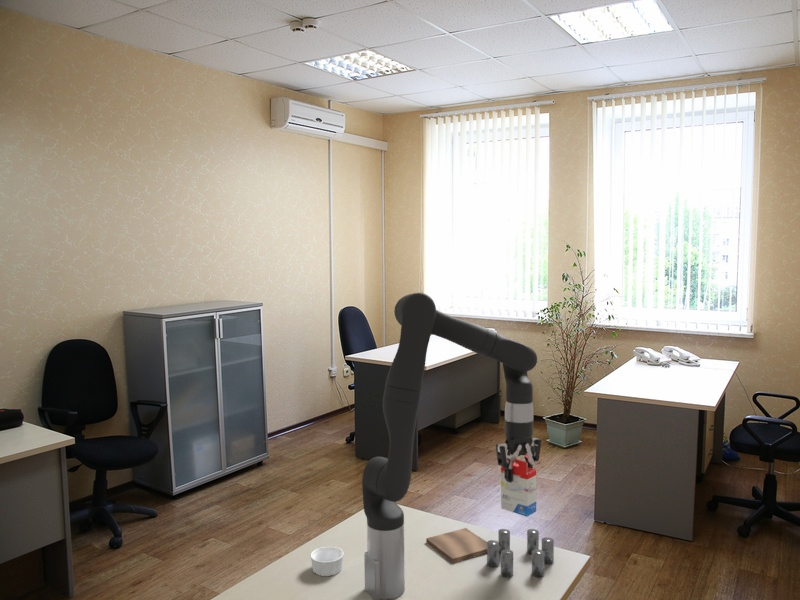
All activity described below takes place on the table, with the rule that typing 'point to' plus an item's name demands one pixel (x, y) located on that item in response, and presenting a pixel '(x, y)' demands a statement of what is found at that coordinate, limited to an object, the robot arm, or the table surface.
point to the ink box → (519, 490)
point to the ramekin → (327, 560)
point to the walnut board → (458, 545)
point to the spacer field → (532, 548)
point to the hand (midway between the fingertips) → (518, 479)
